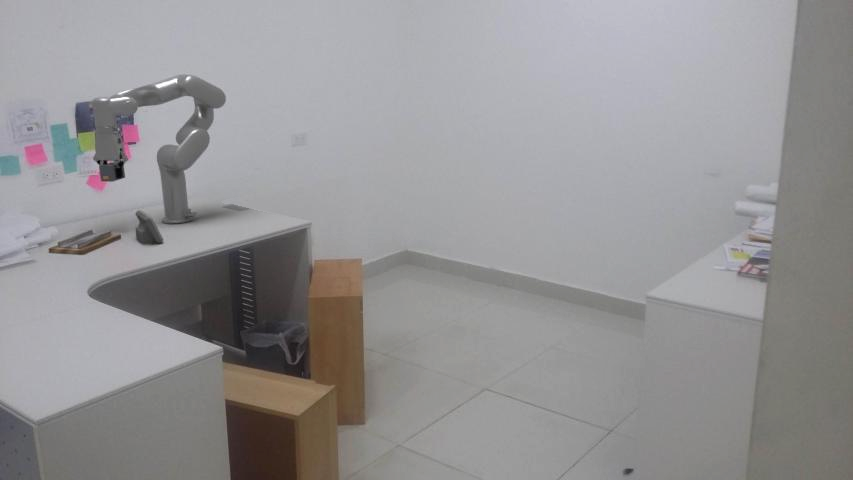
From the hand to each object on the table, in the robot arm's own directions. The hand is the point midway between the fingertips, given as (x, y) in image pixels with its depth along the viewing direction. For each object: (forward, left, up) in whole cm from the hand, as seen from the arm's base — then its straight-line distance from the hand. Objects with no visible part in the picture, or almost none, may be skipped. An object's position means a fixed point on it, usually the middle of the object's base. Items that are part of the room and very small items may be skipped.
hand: (113, 177), depth 284 cm
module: (0, 0, -1) cm, 1 cm away
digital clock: (-19, +9, -22) cm, 31 cm away
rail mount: (0, +20, -22) cm, 30 cm away
